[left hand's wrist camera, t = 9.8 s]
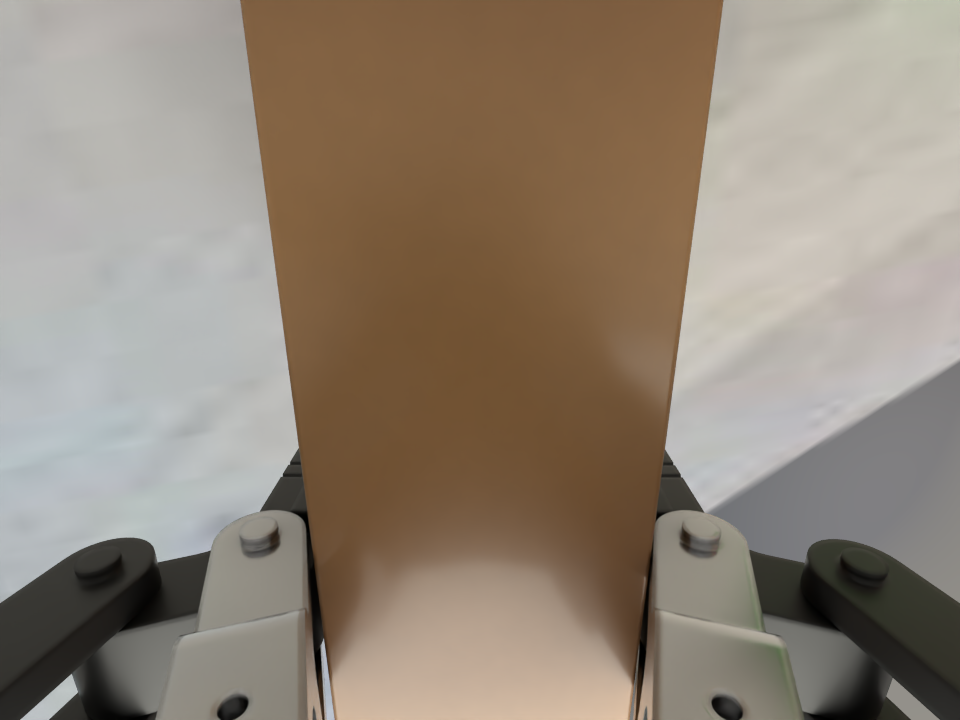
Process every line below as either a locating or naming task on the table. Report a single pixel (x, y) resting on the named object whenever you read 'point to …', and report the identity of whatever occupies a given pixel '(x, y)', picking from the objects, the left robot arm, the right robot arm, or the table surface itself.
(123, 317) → the table surface
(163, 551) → the table surface
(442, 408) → the bar
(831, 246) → the table surface
